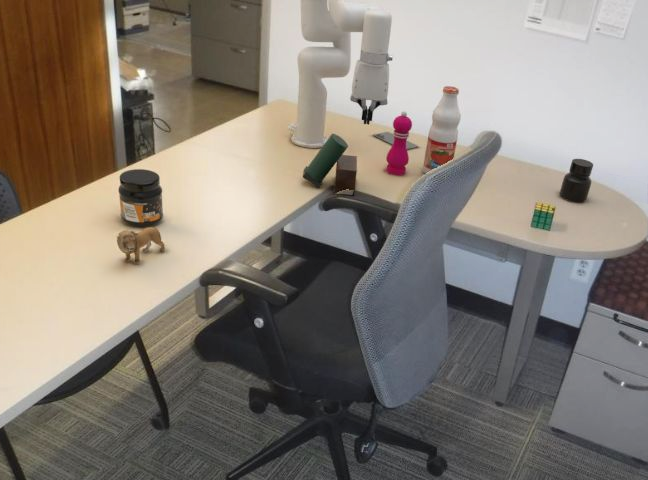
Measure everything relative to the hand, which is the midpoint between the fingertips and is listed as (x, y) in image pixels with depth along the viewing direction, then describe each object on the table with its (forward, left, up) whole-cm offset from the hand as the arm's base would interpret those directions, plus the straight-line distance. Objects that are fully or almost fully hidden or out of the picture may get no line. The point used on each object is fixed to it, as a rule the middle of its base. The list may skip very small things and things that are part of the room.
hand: (366, 122), depth 208 cm
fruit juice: (+11, +31, -21) cm, 39 cm away
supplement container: (-28, -60, -21) cm, 69 cm away
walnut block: (-4, -2, -21) cm, 21 cm away
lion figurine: (-13, -74, -21) cm, 78 cm away
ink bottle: (+53, +48, -21) cm, 74 cm away
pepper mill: (+1, +21, -21) cm, 30 cm away
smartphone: (-14, +46, -21) cm, 52 cm away
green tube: (-9, -6, -21) cm, 23 cm away
